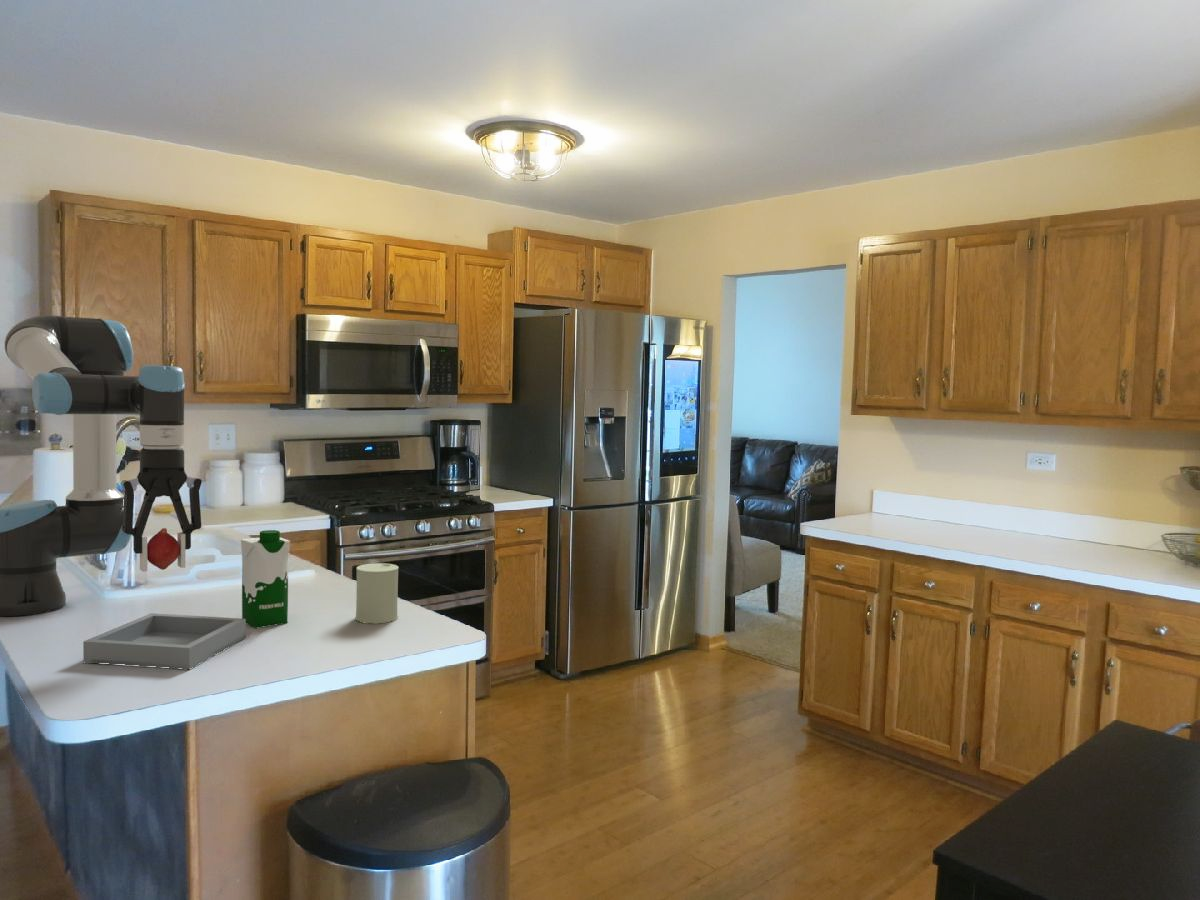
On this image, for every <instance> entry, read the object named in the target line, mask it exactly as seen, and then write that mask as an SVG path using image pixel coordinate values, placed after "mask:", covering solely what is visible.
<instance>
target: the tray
mask: <svg viewBox="0 0 1200 900" xmlns="http://www.w3.org/2000/svg"><path fill="white" fill-rule="evenodd" d="M246 629H247V623H246V619H242V617H241V618H238V617H224V616H223V617H221V616H206V615H205V616H204V615H203V616H201V615H189V614H187V615H186V614H171V613H156V612H155V613H153V612H151V613H148V614H147V615H144V616H141V617H139V618H137V619H134V620H132V621H130V622H126V623H125V624H122V625H119V626H117V627H114V628H112V629H110V630H107V631H105V632H103V633H100V634H97V635H95V636H92V637H91V638H88V639H85V640H84V641H83V650H82V651H83V663H84V662H85V663H84V664H88V663H109V664H125V665H139V666H156V667H169V668H182V669H190V668H192V667H194V666H196V665H198V664H199V663H201V662H203V661H205V660H206V661H208V660H209V659H208V658H210V657H212V656H213V657H215V656H216V655H215V654H217V653H219V652H221V651H222V652H224V651H225V650H224V649H226V648H228V647H229V648H231V647H233V646H234V644H235V643H237V642H238V643H240V642H242V641H243V639H244V638H245V639H247V638H246V637H247V635H246V634H247V632H246V631H247V630H246ZM245 639H244V640H245ZM241 640H242V641H241ZM239 641H240V642H239ZM238 643H237V644H238ZM232 645H233V646H232ZM235 645H236V644H235ZM230 646H231V647H230ZM229 648H228V649H229ZM223 650H224V651H223ZM226 650H227V649H226ZM222 652H221V653H222ZM219 654H220V653H219ZM214 655H215V656H214ZM217 655H218V654H217ZM213 657H212V658H213ZM207 659H208V660H207ZM210 659H211V658H210ZM206 661H205V662H206ZM203 663H204V662H203ZM201 664H202V663H201ZM199 665H200V664H199ZM199 665H198V666H199ZM196 667H197V666H196ZM194 668H195V667H194ZM192 669H193V668H192ZM190 670H191V669H190Z"/></svg>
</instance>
